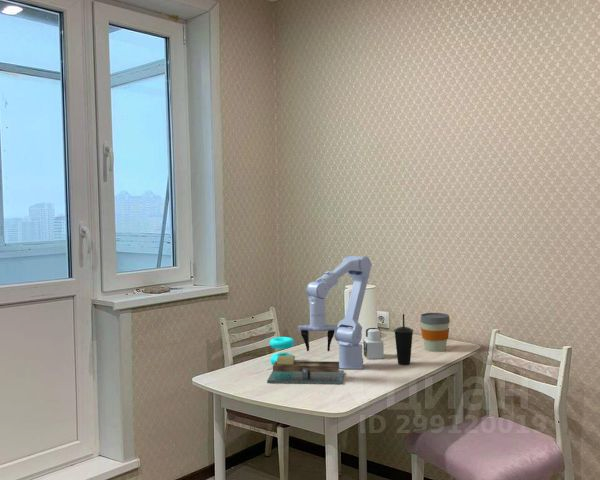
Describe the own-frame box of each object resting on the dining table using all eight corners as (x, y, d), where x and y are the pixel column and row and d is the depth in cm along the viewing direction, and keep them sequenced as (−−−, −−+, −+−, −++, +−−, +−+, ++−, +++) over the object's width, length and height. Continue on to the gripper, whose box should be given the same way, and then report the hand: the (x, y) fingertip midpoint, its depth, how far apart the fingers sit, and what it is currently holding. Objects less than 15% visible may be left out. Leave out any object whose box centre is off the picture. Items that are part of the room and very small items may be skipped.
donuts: (273, 335, 237) (296, 336, 235) (273, 359, 237) (296, 360, 235) (266, 341, 227) (291, 342, 225) (267, 366, 228) (291, 366, 226)
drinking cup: (409, 367, 221) (409, 316, 220) (391, 364, 226) (390, 314, 224) (416, 362, 228) (416, 313, 227) (398, 360, 232) (398, 311, 231)
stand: (343, 372, 216) (343, 359, 215) (342, 384, 202) (341, 370, 201) (273, 372, 219) (273, 359, 219) (267, 383, 205) (266, 369, 205)
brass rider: (294, 363, 213) (294, 355, 213) (293, 366, 208) (293, 358, 208) (279, 363, 214) (278, 355, 213) (277, 366, 209) (277, 358, 209)
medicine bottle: (363, 355, 241) (363, 327, 241) (380, 354, 242) (379, 326, 241) (366, 359, 234) (366, 330, 234) (383, 358, 235) (383, 330, 234)
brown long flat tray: (339, 367, 212) (339, 361, 212) (338, 372, 206) (338, 366, 205) (275, 366, 215) (275, 361, 215) (272, 371, 208) (272, 365, 208)
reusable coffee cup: (453, 347, 251) (453, 314, 250) (444, 354, 240) (444, 319, 239) (426, 344, 257) (426, 311, 257) (416, 350, 247) (416, 316, 246)
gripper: (296, 316, 207) (297, 353, 208) (336, 316, 206) (337, 353, 207) (298, 312, 214) (299, 348, 215) (337, 312, 213) (338, 348, 214)
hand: (318, 350), depth 211 cm, fingers open, 7 cm apart
